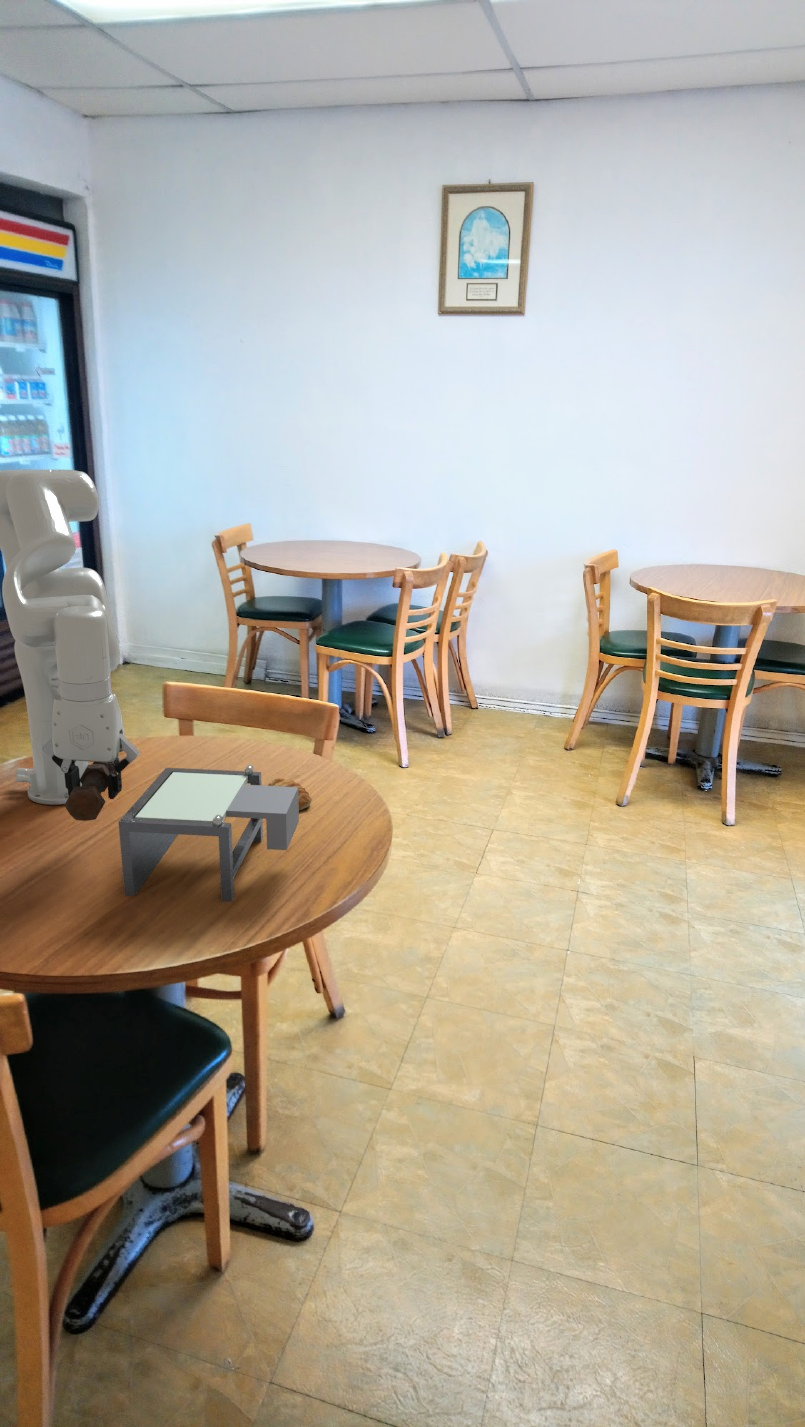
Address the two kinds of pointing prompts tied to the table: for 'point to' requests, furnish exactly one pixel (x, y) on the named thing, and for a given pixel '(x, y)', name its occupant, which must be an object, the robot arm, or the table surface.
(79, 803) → the bolt
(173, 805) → the trapdoor
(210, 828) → the frame
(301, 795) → the pastry
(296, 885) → the table surface
